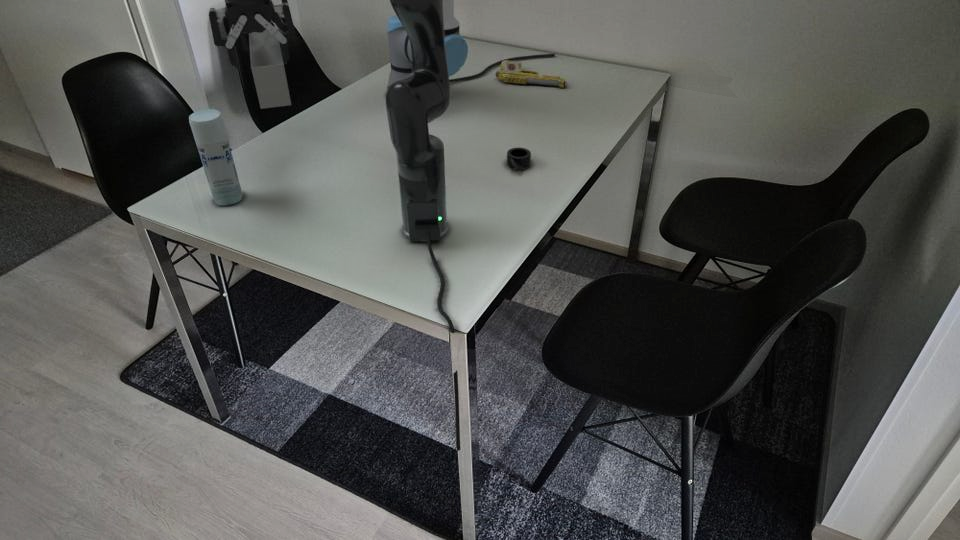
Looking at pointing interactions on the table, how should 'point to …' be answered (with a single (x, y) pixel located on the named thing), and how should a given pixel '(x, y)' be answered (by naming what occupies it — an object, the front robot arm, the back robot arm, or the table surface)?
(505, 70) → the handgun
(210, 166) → the spray paint can
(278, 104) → the bar
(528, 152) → the duct tape
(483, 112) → the table surface
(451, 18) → the back robot arm
